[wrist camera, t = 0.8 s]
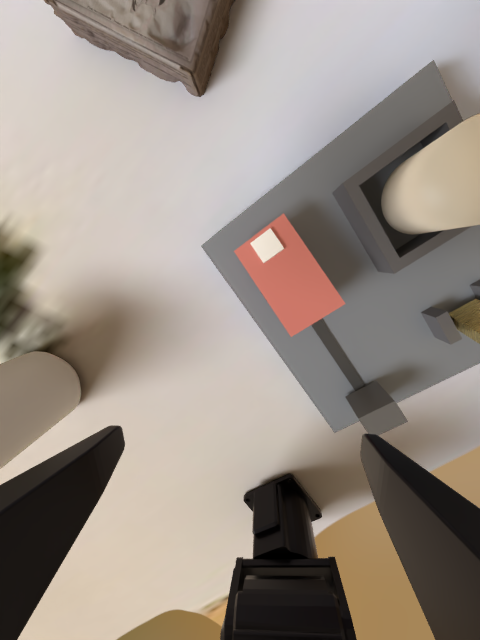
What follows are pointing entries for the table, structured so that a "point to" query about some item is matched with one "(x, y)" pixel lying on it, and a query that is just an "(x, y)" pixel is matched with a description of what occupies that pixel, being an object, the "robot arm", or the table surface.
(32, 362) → the can
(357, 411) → the slider
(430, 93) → the panel
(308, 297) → the rocker
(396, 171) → the button
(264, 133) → the table surface
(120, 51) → the grey flat block
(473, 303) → the lever
